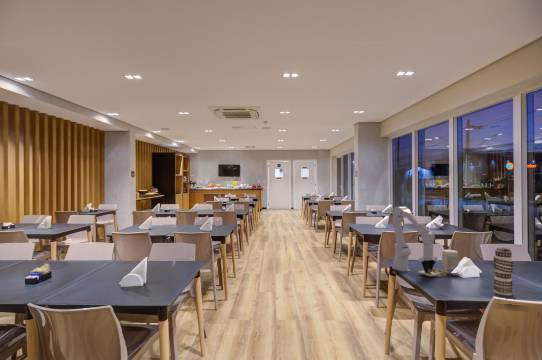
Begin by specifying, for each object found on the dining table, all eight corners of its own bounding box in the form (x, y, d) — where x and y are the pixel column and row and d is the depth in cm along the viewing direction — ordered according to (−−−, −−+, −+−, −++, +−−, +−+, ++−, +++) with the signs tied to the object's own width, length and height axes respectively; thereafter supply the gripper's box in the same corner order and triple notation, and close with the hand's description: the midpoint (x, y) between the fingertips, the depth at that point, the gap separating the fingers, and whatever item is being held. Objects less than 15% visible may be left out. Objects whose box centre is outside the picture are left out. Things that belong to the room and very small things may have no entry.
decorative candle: (490, 289, 189) (490, 245, 189) (509, 290, 186) (509, 246, 186) (496, 294, 180) (496, 248, 180) (516, 296, 177) (516, 250, 178)
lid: (418, 273, 215) (418, 267, 215) (425, 272, 218) (425, 266, 218) (430, 277, 207) (430, 270, 207) (438, 275, 210) (438, 269, 210)
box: (427, 274, 219) (427, 269, 219) (434, 273, 222) (434, 268, 222) (439, 277, 211) (439, 273, 211) (446, 276, 214) (446, 271, 214)
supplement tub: (460, 273, 222) (461, 251, 222) (453, 275, 217) (453, 252, 217) (446, 269, 231) (446, 248, 231) (439, 271, 225) (439, 250, 225)
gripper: (425, 253, 206) (425, 274, 206) (441, 251, 212) (441, 272, 212) (416, 250, 212) (416, 271, 212) (431, 249, 219) (431, 269, 218)
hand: (427, 271), depth 213 cm, fingers closed on lid, 3 cm apart
